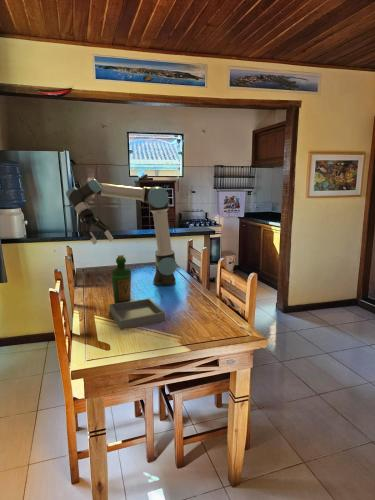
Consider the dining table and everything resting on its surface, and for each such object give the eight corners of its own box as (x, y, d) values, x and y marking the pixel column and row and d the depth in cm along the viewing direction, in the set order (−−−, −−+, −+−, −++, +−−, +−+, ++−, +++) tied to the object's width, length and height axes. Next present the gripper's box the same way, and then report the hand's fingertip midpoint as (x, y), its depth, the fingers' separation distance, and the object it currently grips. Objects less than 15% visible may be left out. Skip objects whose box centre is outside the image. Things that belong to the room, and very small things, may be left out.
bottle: (127, 308, 173) (126, 258, 167) (109, 306, 175) (107, 257, 169) (134, 301, 183) (133, 254, 177) (117, 300, 185) (115, 253, 179)
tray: (150, 305, 177) (149, 297, 176) (165, 321, 157) (165, 312, 156) (109, 312, 167) (109, 304, 166) (120, 330, 148) (120, 321, 147)
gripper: (95, 215, 195) (114, 242, 191) (64, 216, 173) (84, 248, 169) (103, 207, 192) (121, 235, 188) (71, 208, 169) (92, 240, 166)
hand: (104, 241), depth 179 cm, fingers open, 13 cm apart
